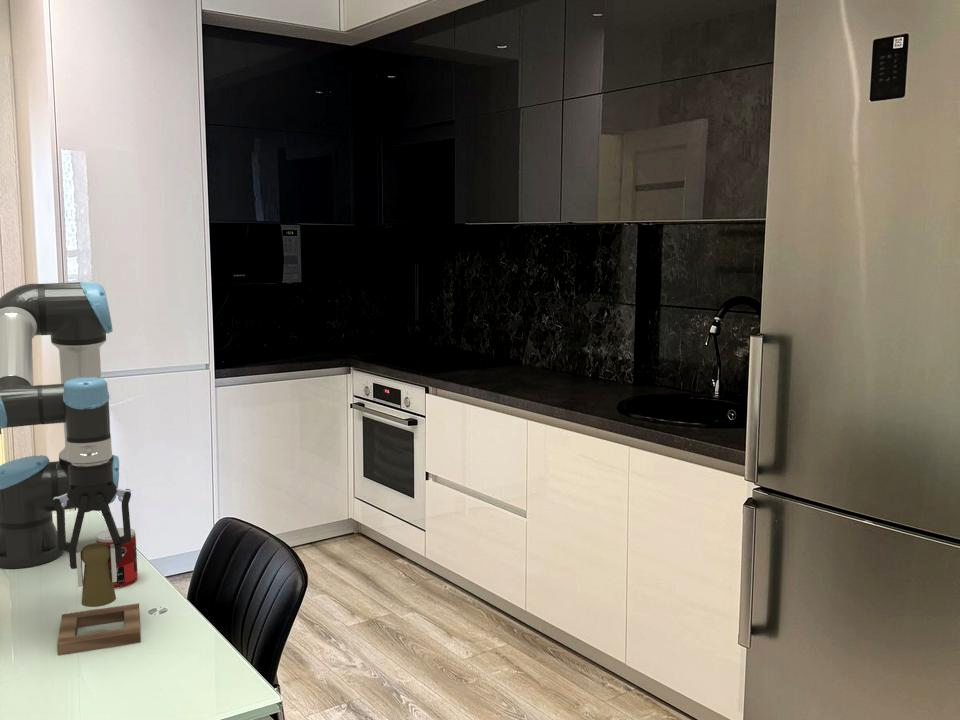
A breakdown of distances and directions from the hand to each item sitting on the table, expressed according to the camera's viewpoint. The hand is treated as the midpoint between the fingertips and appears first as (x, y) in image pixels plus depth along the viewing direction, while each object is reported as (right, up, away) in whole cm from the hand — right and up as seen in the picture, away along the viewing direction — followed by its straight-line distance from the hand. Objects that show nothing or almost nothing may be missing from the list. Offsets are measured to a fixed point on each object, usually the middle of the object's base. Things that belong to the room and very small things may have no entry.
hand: (97, 581), depth 166 cm
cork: (0, -4, +1) cm, 4 cm away
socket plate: (0, -10, +2) cm, 10 cm away
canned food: (-7, -7, +27) cm, 28 cm away
